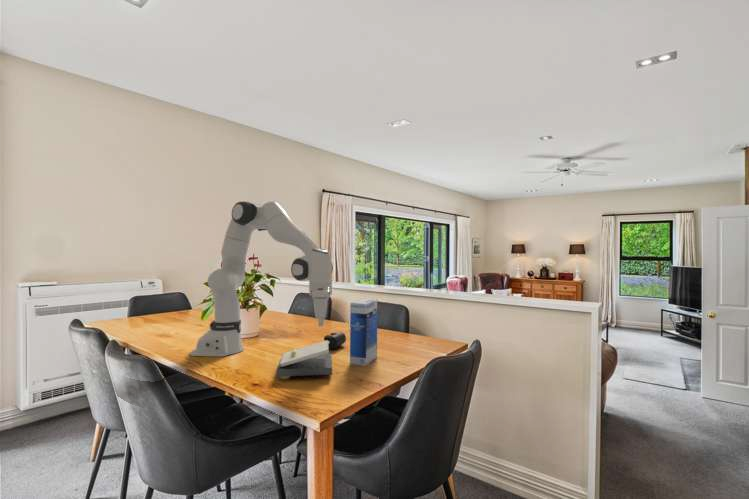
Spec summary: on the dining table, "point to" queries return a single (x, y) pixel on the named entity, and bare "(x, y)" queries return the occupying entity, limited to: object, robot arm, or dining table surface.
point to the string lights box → (363, 331)
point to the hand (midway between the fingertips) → (320, 325)
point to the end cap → (335, 340)
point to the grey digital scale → (307, 367)
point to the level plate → (304, 353)
